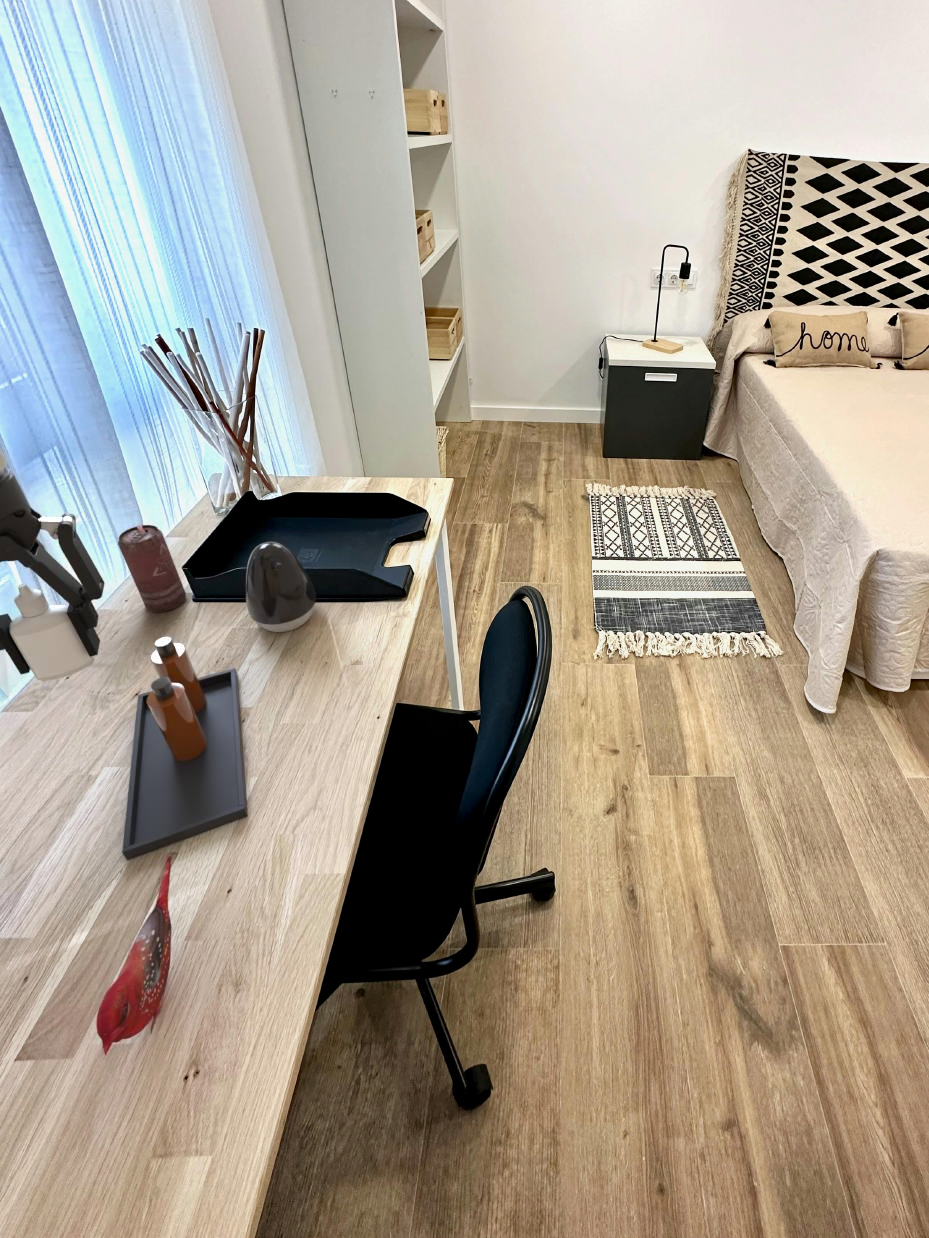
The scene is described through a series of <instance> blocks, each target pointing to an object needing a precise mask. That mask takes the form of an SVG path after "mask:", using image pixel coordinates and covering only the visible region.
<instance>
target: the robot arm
mask: <svg viewBox="0 0 929 1238" xmlns="http://www.w3.org/2000/svg"><path fill="white" fill-rule="evenodd" d="M8 463H9V462H8V459H7V458H6V456H5V454H4V452H3V450H2V447H0V563H2V562H16V561H18V562H19V563H20V564H21V565H22V566H23V567H25V569H30V570H31V571H32V572H33V573H35V574H36V575H37V576H38V577H39V578H40V579H41V580H42V581H44V583H46V585H48V586H49V587H50V588H51V589H52V590H54V592H55V593H56V594H58V595H59V596H60V597H61V598H62V599H63V600H64V601H66V602H67V603H68V605H67V606H68V610H67V615H68V617H69V619H70V621H71V623H72V624H73V626H74V628H75V630H76V632H77V634H78V636H79V638H80V639H81V641H82V643H83V645H84V647H85V649H86V651H87V652H88V654H89V656H90V657H91V656H98V654H99V649H100V644H101V639H100V637H99V636H98V633H97V631H96V630H95V628H97V627H98V623H99V614H98V612H97V610H96V608H95V606H94V604H93V602H92V601H94V600H95V601H96V600H100V599H101V598H102V597H103V595H104V594H103V593H104V588H105V581H104V579H103V577H102V575H101V574H100V571H99V570H98V568H97V566H96V565H95V563H94V561H93V559H92V557H91V555H90V554H89V552H88V550H87V548H86V547H85V545H84V543H83V542H82V540H81V538H80V536H79V534H78V533H77V522H76V521H77V519H76V516H75V515H74V514H73V513H70V512H65V513H63V514H62V515H61V517H60V516H59V517H58V516H56V517H55V516H42V515H41V514H40V513H39V512H38V511H36V510H35V509H34V508H32V506H31V505H30V503H29V501H28V499H27V497H26V494H25V493H24V491H23V489H22V487H21V485H20V483H19V481H18V479H17V478H16V475H15V473H14V472H13V470H12V469H10V468H8V467H7V466H8ZM41 530H42V531H43V530H44V531H46V532H48V534H49V537H51V539H53V540H57V541H58V545H59V548H60V550H61V552H62V554H63V555H64V557H65V558H66V560H67V562H68V563H69V565H70V567H71V569H72V571H73V572H74V573H75V576H76V577H77V579H78V580H77V579H76V578H75V576H73V575H72V574H71V573H70V572H69V571H68V570H67V569H66V568H65V567H64V566H63V565H62V564H61V563H60V562H59V561H57V560H56V559H55V558H54V557H53V556H52V555H51V554H50V553H49V552H48V551H47V550H46V548H45V545H44V544H43V543H42V542H40V540H39V539H38V536H39V533H40V531H41ZM12 621H13V619H12V618H11V616H10V614H9V613H4V614H0V651H4V650H5V652H6V653H7V655H8V656H9V658H10V660H11V661H12V663H13V664H14V667H15V668H16V670H17V671H18V672H19V674H20V675H24V674H25V675H26V674H30V671H31V669H30V667H29V665H28V664H27V662H26V660H25V659H24V657H23V655H22V654H21V652H20V650H19V649H18V647H17V645H16V643H15V642H14V640H13V638H12V636H11V634H10V630H9V627H10V623H11V622H12Z"/></svg>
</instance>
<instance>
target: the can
mask: <svg viewBox="0 0 929 1238" xmlns="http://www.w3.org/2000/svg"><path fill="white" fill-rule="evenodd" d="M117 539H118V541H117V545H118V548H119V550H120V552H121V554H122V557H123V559H124V560H125V563H126V567H127V568H128V570H129V572H130V575H131V577H132V580H133V582H134V584H135V586H136V590H137V591H138V594H139V595H140V596H139V597H140V598H141V600H142V602H143V605H144V607H145V609H147V610H149V611H150V612H152V613H164V611H165V612H169V611H172V610H174V609H176V608H177V607H179V606H180V605H181V604H183V603H184V601H185V599H186V596H187V595H186V594H187V593H186V591H185V588H184V585H183V583H182V580H181V577H180V574H179V572H178V570H177V567H176V564H175V562H174V560H173V557H172V555H171V551H170V549H169V546H168V544H167V541H166V539H165V536H164V533H163V532H162V530H160V529H159V528H158V527H157V526H155V525H153V524H139V525H137V526H133V527H131V528H129V529H126V530H124V531H123V532H122V533H120V534H119V536H118V538H117Z"/></svg>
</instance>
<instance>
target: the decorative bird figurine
mask: <svg viewBox="0 0 929 1238" xmlns="http://www.w3.org/2000/svg"><path fill="white" fill-rule="evenodd" d="M171 868H172V857H171V855H168V857H167V859H166V861H165V865H164V869H163V872H162V877H161V881H160V886H159V890H158V894H157V898H156V902H155V905H154V908H153V909H152V911H151V912H150V914H149V915H148V916H147V918H146V920H145V921H144V923H143V925H142V926H141V928H140V929H139V932H138V934H137V935H136V937H135V939H134V941H133V944H132V945H131V948H130V950H129V952H128V954H127V956H126V959H125V961H124V964H123V965H122V968H121V970H120V972H119V974H118V976H117V978H116V980H115V981H114V982H113V983H112V984H111V986H110V987H109V988H108V990H107V991H106V993H105V994H104V996H103V999H102V1000H101V1002H100V1005H99V1008H98V1011H97V1015H96V1024H95V1026H96V1033H97V1035H98V1037H99V1039H100V1040H101V1043H102V1049H103V1053H104V1055H105V1056H107V1054H108V1052H109V1050H110V1048H111V1046H112V1045H113V1043H116V1044H117V1043H119V1042H121V1041H122V1040H128V1039H131V1038H133V1037H134V1036H137V1035H138V1034H140V1033H141V1032H142V1031H144V1029H145V1028H146V1027H147V1026H148V1025H149V1023H150V1022H151V1021H152V1022H151V1026H150V1034H151V1035H152V1034H153V1030H154V1027H155V1024H156V1021H157V1018H158V1016H159V1014H160V1013H161V1010H162V1007H163V1001H164V995H165V989H166V986H167V982H168V979H169V973H170V967H171V952H172V922H171V921H172V920H171V916H170V910H169V892H170V879H171V870H172V869H171Z"/></svg>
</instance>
